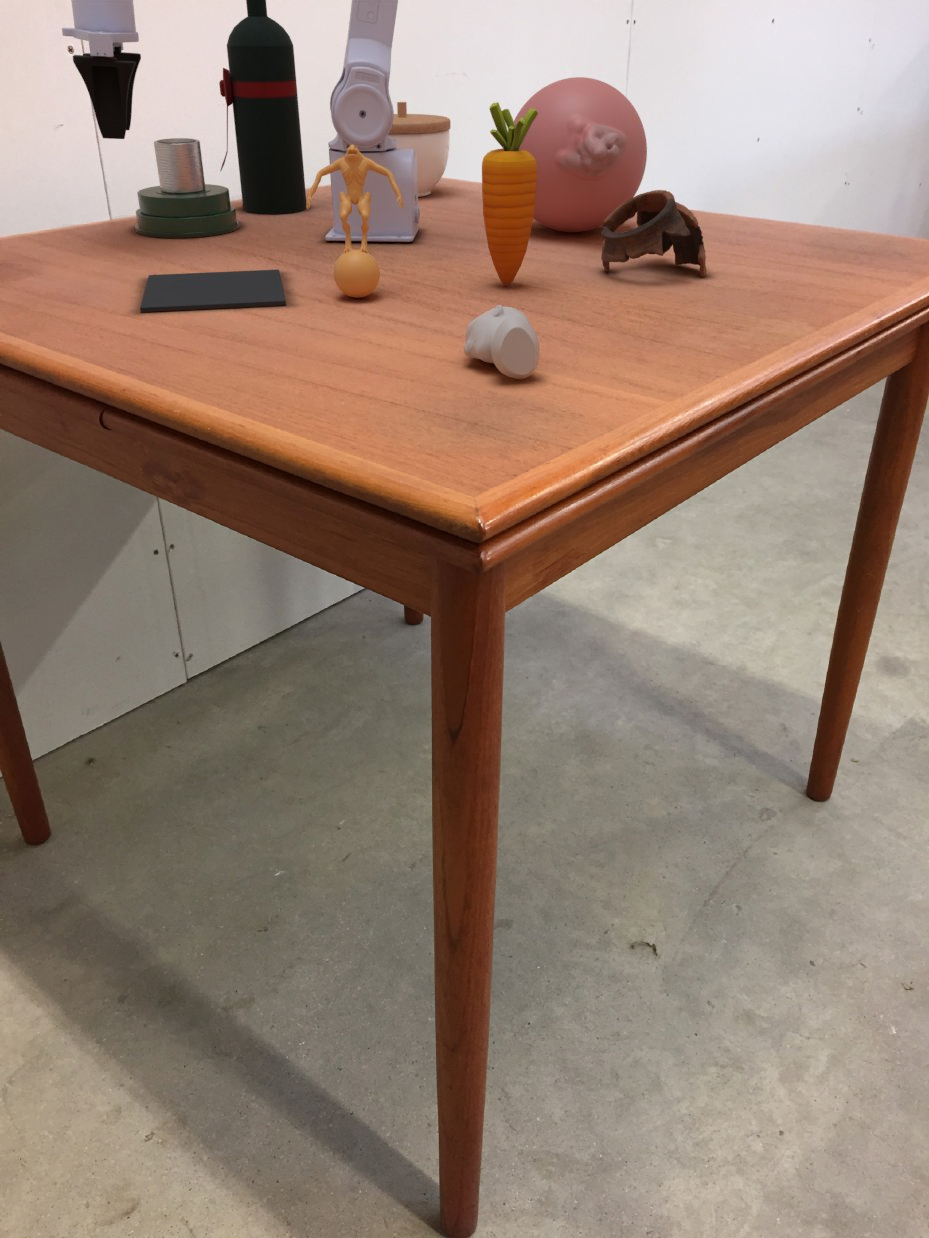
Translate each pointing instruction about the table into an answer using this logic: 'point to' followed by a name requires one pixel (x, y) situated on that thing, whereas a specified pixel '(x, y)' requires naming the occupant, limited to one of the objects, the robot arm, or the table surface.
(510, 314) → the pale two-lobed sculpture
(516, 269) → the carrot
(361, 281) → the figurine
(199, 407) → the table surface
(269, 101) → the wine bottle
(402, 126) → the lidded bowl
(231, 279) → the mat
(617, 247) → the broken pot rim
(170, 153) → the silver cup
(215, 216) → the green stepped puck
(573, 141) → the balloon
